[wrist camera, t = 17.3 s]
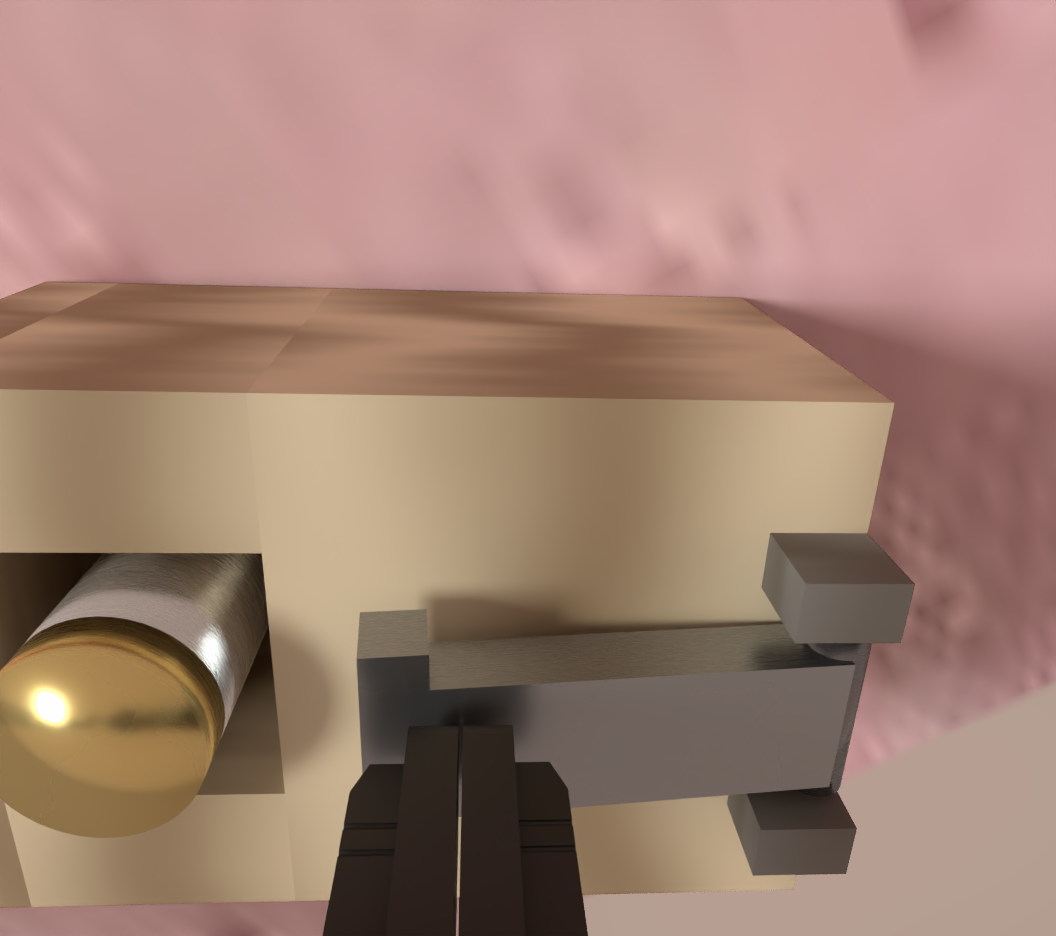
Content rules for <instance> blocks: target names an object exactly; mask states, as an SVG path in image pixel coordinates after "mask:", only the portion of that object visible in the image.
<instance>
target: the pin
mask: <svg viewBox="0 0 1056 936" xmlns="http://www.w3.org/2000/svg"><path fill="white" fill-rule="evenodd" d="M268 625H269V623H268V613H267V602H266V592H265V582H264V571H263V561H262V553H102V555H101V556H100V557H99V558H98V559H97V560H96V561H95V563H94V564H93V565H92V566H91V567H90V568H89V569H88V571H87V572H86V573H85V574H84V575H83V576H82V578H81V579H80V580H79V581H78V582H77V583H76V584H75V586H74V587H73V588H72V589H71V590H70V591H69V592H68V594H67V595H66V596H65V597H64V598H63V599H62V601H61V602H60V603H59V604H58V605H57V606H56V607H55V609H54V610H53V611H52V612H51V613H50V614H49V615H48V617H47V618H46V619H45V620H44V621H43V622H42V623H41V625H40V626H39V627H38V628H37V629H36V630H35V632H34V633H33V634H32V635H31V636H30V637H29V638H28V640H27V641H26V642H25V643H24V644H23V645H22V646H21V648H20V649H19V650H18V651H17V652H16V653H15V654H14V656H13V657H12V658H11V659H10V660H9V661H8V663H7V664H6V665H5V666H4V667H3V668H2V669H1V671H0V799H1V800H2V801H4V802H5V803H6V804H7V805H8V806H10V807H11V808H12V809H14V810H15V811H17V812H18V813H20V814H21V815H23V816H25V817H27V818H28V819H30V820H32V821H34V822H36V823H38V824H41V825H43V826H46V827H48V828H51V829H54V830H57V831H60V832H63V833H68V834H72V835H77V836H84V837H92V838H115V837H125V836H131V835H136V834H140V833H143V832H147V831H150V830H152V829H155V828H157V827H159V826H162V825H164V824H165V823H167V822H169V821H170V820H172V819H174V818H175V817H176V816H178V815H179V814H180V813H181V812H183V811H184V810H185V809H186V807H187V806H188V805H189V804H190V803H191V802H192V801H193V799H194V798H195V796H196V795H197V793H198V791H199V789H200V787H201V785H202V783H203V780H204V778H205V776H206V773H207V771H208V769H209V766H210V764H211V761H212V759H213V757H214V754H215V752H216V749H217V747H218V745H219V742H220V740H221V738H222V735H223V733H224V730H225V728H226V726H227V723H228V721H229V718H230V716H231V714H232V711H233V709H234V706H235V704H236V702H237V699H238V697H239V695H240V692H241V690H242V687H243V685H244V683H245V680H246V678H247V675H248V673H249V671H250V668H251V666H252V664H253V661H254V659H255V656H256V654H257V652H258V649H259V647H260V644H261V642H262V640H263V637H264V635H265V632H266V630H267V628H268Z"/></svg>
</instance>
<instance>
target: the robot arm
mask: <svg viewBox="0 0 1056 936" xmlns="http://www.w3.org/2000/svg"><path fill="white" fill-rule="evenodd" d="M458 822H459V726H409V728H408V734H407V742H406V751H405V760H404V764H370V765H369V766H368V767H367V769H366V770H365V772H364V773H363V774H362V776H361V777H360V778H359V780H358V781H357V782H356V784H355V785H354V787H353V788H352V789H351V791H350V793H349V798H348V804H347V809H346V814H345V820H344V829H343V830H342V836H341V841H340V846H339V856H338V857H337V862H336V868H335V873H334V878H333V884H332V889H331V894H330V900H329V905H328V910H327V916H326V921H325V926H324V932H323V936H456V912H457V872H458ZM459 936H588V933H587V925H586V918H585V911H584V903H583V896H582V888H581V881H580V874H579V866H578V859H577V852H576V844H575V837H574V830H573V826H572V815H571V807H570V800H569V793H568V788H567V786H566V785H565V783H564V782H563V780H562V779H561V778H560V776H559V775H558V773H557V772H556V770H555V769H554V767H553V766H552V764H551V763H550V762H515V751H514V734H513V725H463V757H462V803H461V849H460V895H459Z"/></svg>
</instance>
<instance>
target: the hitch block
mask: <svg viewBox="0 0 1056 936" xmlns="http://www.w3.org/2000/svg"><path fill="white" fill-rule="evenodd" d="M894 404H895V403H894V402H893V401H891V400H890V399H888V398H887V397H885V396H884V395H882V394H881V393H879V392H878V391H877V390H875V389H874V388H872V387H871V386H869V385H868V384H866V383H865V382H864V381H862V380H861V379H859V378H858V377H856V376H855V375H853V374H852V373H850V372H849V371H848V370H846V369H845V368H843V367H842V366H840V365H839V364H837V363H836V362H834V361H833V360H832V359H830V358H829V357H827V356H826V355H824V354H823V353H821V352H820V351H818V350H817V349H816V348H814V347H813V346H811V345H810V344H808V343H807V342H805V341H804V340H802V339H801V338H800V337H798V336H797V335H795V334H794V333H792V332H791V331H789V330H788V329H787V328H785V327H784V326H782V325H781V324H779V323H778V322H776V321H775V320H773V319H772V318H771V317H769V316H768V315H766V314H765V313H763V312H762V311H760V310H759V309H757V308H756V307H755V306H753V305H752V304H750V303H749V302H747V301H746V300H744V299H743V298H725V297H682V296H639V295H596V294H553V293H510V292H468V291H425V290H382V289H339V288H296V287H253V286H210V285H167V284H124V283H81V282H44V283H41V284H38V285H36V286H33V287H31V288H28V289H25V290H23V291H20V292H18V293H15V294H12V295H10V296H7V297H5V298H2V299H0V671H1V669H2V668H3V667H4V666H5V665H6V664H7V663H8V661H9V660H10V659H11V658H12V657H13V656H14V654H15V653H16V652H17V651H18V650H19V649H20V648H21V646H22V645H23V644H24V643H25V642H26V641H27V640H28V638H29V637H30V636H31V635H32V634H33V633H34V632H35V630H36V629H37V628H38V627H39V626H40V625H41V623H42V622H43V621H44V620H45V619H46V618H47V617H48V615H49V614H50V613H51V612H52V611H53V610H54V609H55V607H56V606H57V605H58V604H59V603H60V602H61V601H62V599H63V598H64V597H65V596H66V595H67V594H68V592H69V591H70V590H71V589H72V588H73V587H74V586H75V584H76V583H77V582H78V581H79V580H80V579H81V578H82V576H83V575H84V574H85V573H86V572H87V571H88V569H89V568H90V567H91V566H92V565H93V564H94V563H95V561H96V560H97V559H98V558H99V557H100V556H101V555H102V553H262V561H263V571H264V582H265V592H266V602H267V613H268V623H269V625H268V628H267V630H266V632H265V635H264V637H263V640H262V642H261V644H260V647H259V649H258V652H257V654H256V656H255V659H254V661H253V664H252V666H251V668H250V671H249V673H248V675H247V678H246V680H245V683H244V685H243V687H242V690H241V692H240V695H239V697H238V699H237V702H236V704H235V706H234V709H233V711H232V714H231V716H230V718H229V721H228V723H227V726H226V728H225V730H224V733H223V735H222V738H221V740H220V742H219V745H218V747H217V749H216V752H215V754H214V757H213V759H212V761H211V764H210V766H209V769H208V771H207V773H206V776H205V778H204V780H203V783H202V785H201V787H200V789H199V791H198V793H197V795H196V796H195V798H194V799H193V801H192V802H191V803H190V804H189V805H188V806H187V807H186V809H185V810H184V811H183V812H181V813H180V814H179V815H178V816H176V817H175V818H174V819H172V820H170V821H169V822H167V823H165V824H164V825H162V826H159V827H157V828H155V829H152V830H150V831H147V832H143V833H140V834H136V835H131V836H125V837H115V838H92V837H84V836H77V835H72V834H68V833H63V832H60V831H57V830H54V829H51V828H48V827H46V826H43V825H41V824H38V823H36V822H34V821H32V820H30V819H28V818H27V817H25V816H23V815H21V814H20V813H18V812H17V811H15V810H14V809H12V808H11V807H10V806H8V805H7V804H6V803H5V802H4V801H2V800H1V799H0V908H10V907H54V906H98V905H143V904H187V903H231V902H275V901H320V900H330V894H331V889H332V884H333V878H334V873H335V868H336V862H337V857H338V856H339V846H340V841H341V836H342V830H343V829H344V820H345V814H346V809H347V804H348V798H349V793H350V791H351V789H352V788H353V787H354V785H355V784H356V782H357V781H358V780H359V778H360V777H361V776H362V757H361V737H360V718H359V699H358V679H357V660H356V658H357V645H358V631H359V618H360V612H376V611H398V610H420V609H427V626H428V642H444V641H463V640H483V639H502V638H521V637H541V636H560V635H579V634H598V633H618V632H637V631H656V630H676V629H695V628H714V627H733V626H753V625H772V624H784V626H785V627H786V629H787V631H788V632H789V634H790V636H791V637H792V639H793V641H794V642H795V643H901V640H902V636H903V632H904V628H905V623H906V619H907V615H908V611H909V607H910V602H911V598H912V594H913V590H914V586H915V584H914V583H913V581H912V580H911V579H910V578H909V577H908V576H907V575H906V574H905V573H904V572H903V571H902V570H901V569H900V568H899V566H898V565H897V564H896V563H895V562H894V561H893V560H892V559H891V558H890V557H889V556H888V555H887V554H886V553H885V552H884V550H883V549H882V548H881V547H880V546H879V545H878V544H877V543H876V542H875V541H874V540H873V539H872V538H871V537H870V535H869V534H868V529H869V524H870V519H871V514H872V510H873V505H874V500H875V495H876V490H877V486H878V481H879V476H880V471H881V466H882V462H883V457H884V452H885V447H886V442H887V438H888V433H889V428H890V423H891V418H892V414H893V409H894ZM571 815H572V826H573V830H574V837H575V844H576V852H577V859H578V866H579V874H580V881H581V888H582V895H585V894H628V893H629V894H630V893H671V892H672V893H674V892H716V891H717V892H718V891H758V890H759V891H760V890H761V891H762V890H793V889H794V884H795V879H796V875H803V874H804V875H805V874H846V871H847V867H848V863H849V858H850V855H851V850H852V846H853V842H854V838H855V834H856V829H857V828H856V826H855V824H854V822H853V821H852V819H851V817H850V815H849V813H848V811H847V809H846V807H845V806H844V804H843V802H842V800H841V798H840V796H839V794H838V792H835V793H834V794H832V795H829V796H824V797H817V796H810V795H807V794H804V793H801V792H799V791H797V790H785V791H772V792H760V793H748V794H736V795H723V796H711V797H699V798H686V799H674V800H662V801H650V802H637V803H625V804H613V805H601V806H588V807H576V808H571ZM460 849H461V817H459V822H458V872H457V897H459V895H460Z"/></svg>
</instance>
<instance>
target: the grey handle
mask: <svg viewBox="0 0 1056 936" xmlns="http://www.w3.org/2000/svg"><path fill="white" fill-rule="evenodd" d="M871 645H872V643H795V642H794V641H793V639H792V637H791V636H790V634H789V632H788V631H787V629H786V627H785V626H784V624H772V625H753V626H733V627H714V628H695V629H676V630H656V631H637V632H618V633H598V634H579V635H560V636H541V637H521V638H502V639H483V640H463V641H444V642H428V626H427V609H420V610H398V611H376V612H360V618H359V631H358V645H357V658H356V660H357V679H358V699H359V718H360V737H361V757H362V774H363V773H364V772H365V770H366V769H367V767H368V766H369V765H370V764H404V760H405V751H406V742H407V734H408V728H409V726H459V817H461V803H462V757H463V725H513V734H514V751H515V762H550V763H551V764H552V766H553V767H554V769H555V770H556V772H557V773H558V775H559V776H560V778H561V779H562V780H563V782H564V783H565V785H566V786H567V788H568V793H569V800H570V807H571V808H576V807H588V806H601V805H613V804H625V803H637V802H650V801H662V800H674V799H686V798H699V797H711V796H723V795H736V794H748V793H760V792H772V791H785V790H797V791H799V792H801V793H804V794H807V795H810V796H817V797H824V796H829V795H832V794H834V793H835V792H837V791H838V789H839V787H840V784H841V780H842V775H843V771H844V766H845V762H846V757H847V753H848V748H849V744H850V739H851V735H852V730H853V726H854V721H855V717H856V712H857V708H858V703H859V699H860V694H861V690H862V685H863V681H864V677H865V672H866V668H867V663H868V659H869V654H870V650H871Z"/></svg>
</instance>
